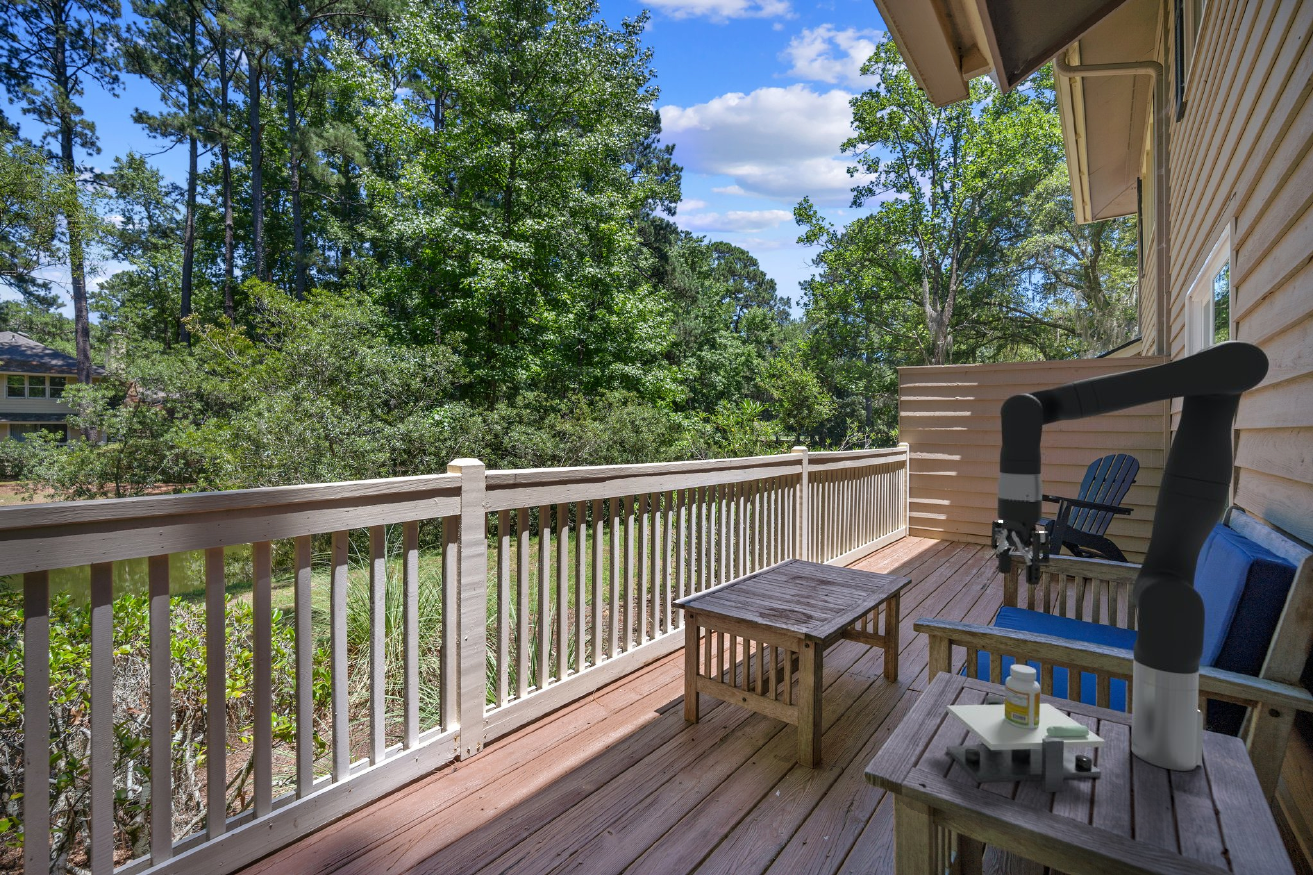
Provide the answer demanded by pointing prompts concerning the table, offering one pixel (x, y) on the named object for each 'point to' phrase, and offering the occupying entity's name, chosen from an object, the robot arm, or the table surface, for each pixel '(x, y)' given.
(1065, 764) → the base
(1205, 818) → the table surface
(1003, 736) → the levelling plate
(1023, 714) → the supplement bottle
